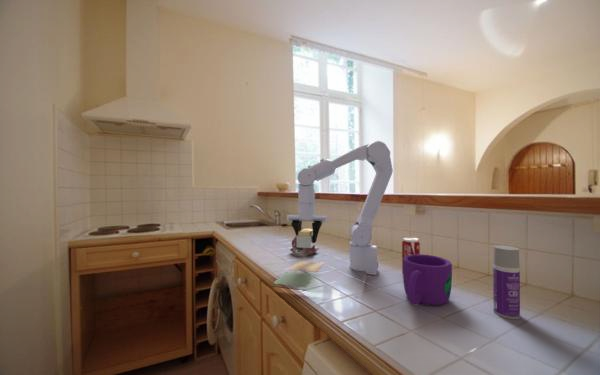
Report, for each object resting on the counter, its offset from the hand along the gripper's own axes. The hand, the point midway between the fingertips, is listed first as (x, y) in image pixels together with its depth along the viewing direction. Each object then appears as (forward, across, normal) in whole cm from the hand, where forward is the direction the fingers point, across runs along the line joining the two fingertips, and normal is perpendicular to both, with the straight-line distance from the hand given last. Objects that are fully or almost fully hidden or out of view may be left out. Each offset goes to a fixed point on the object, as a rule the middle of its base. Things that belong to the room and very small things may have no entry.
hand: (307, 242), depth 90 cm
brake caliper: (+10, +6, -16) cm, 20 cm away
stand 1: (+10, 0, 0) cm, 10 cm away
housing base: (+1, 0, 0) cm, 1 cm away
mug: (+10, -35, +16) cm, 40 cm away
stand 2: (+10, 0, +13) cm, 16 cm away
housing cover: (-3, 0, 0) cm, 3 cm away
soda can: (+10, -34, -3) cm, 36 cm away
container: (+10, -52, +17) cm, 55 cm away
